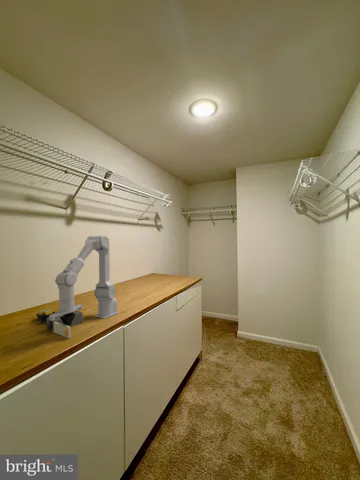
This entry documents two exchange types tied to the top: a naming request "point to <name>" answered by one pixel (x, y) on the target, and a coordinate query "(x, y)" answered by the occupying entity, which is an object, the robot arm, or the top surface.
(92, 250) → the robot arm
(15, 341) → the top surface
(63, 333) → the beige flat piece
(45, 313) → the gadget
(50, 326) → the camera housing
